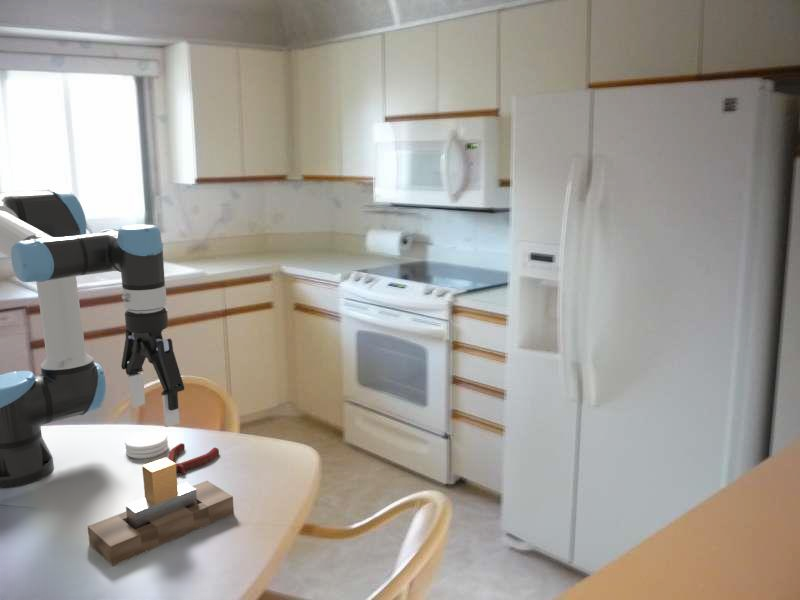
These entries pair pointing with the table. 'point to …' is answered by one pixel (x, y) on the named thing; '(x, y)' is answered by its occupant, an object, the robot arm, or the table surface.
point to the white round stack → (146, 444)
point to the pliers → (192, 463)
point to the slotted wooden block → (158, 526)
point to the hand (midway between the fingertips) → (154, 415)
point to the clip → (160, 494)
